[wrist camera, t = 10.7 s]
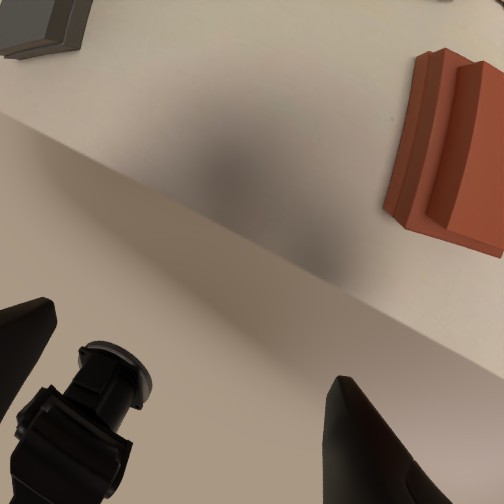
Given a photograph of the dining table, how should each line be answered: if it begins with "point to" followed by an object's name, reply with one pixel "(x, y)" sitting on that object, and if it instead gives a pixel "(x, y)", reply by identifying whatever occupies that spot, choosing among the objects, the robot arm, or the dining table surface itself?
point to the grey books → (41, 26)
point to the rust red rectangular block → (473, 159)
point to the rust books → (427, 148)
